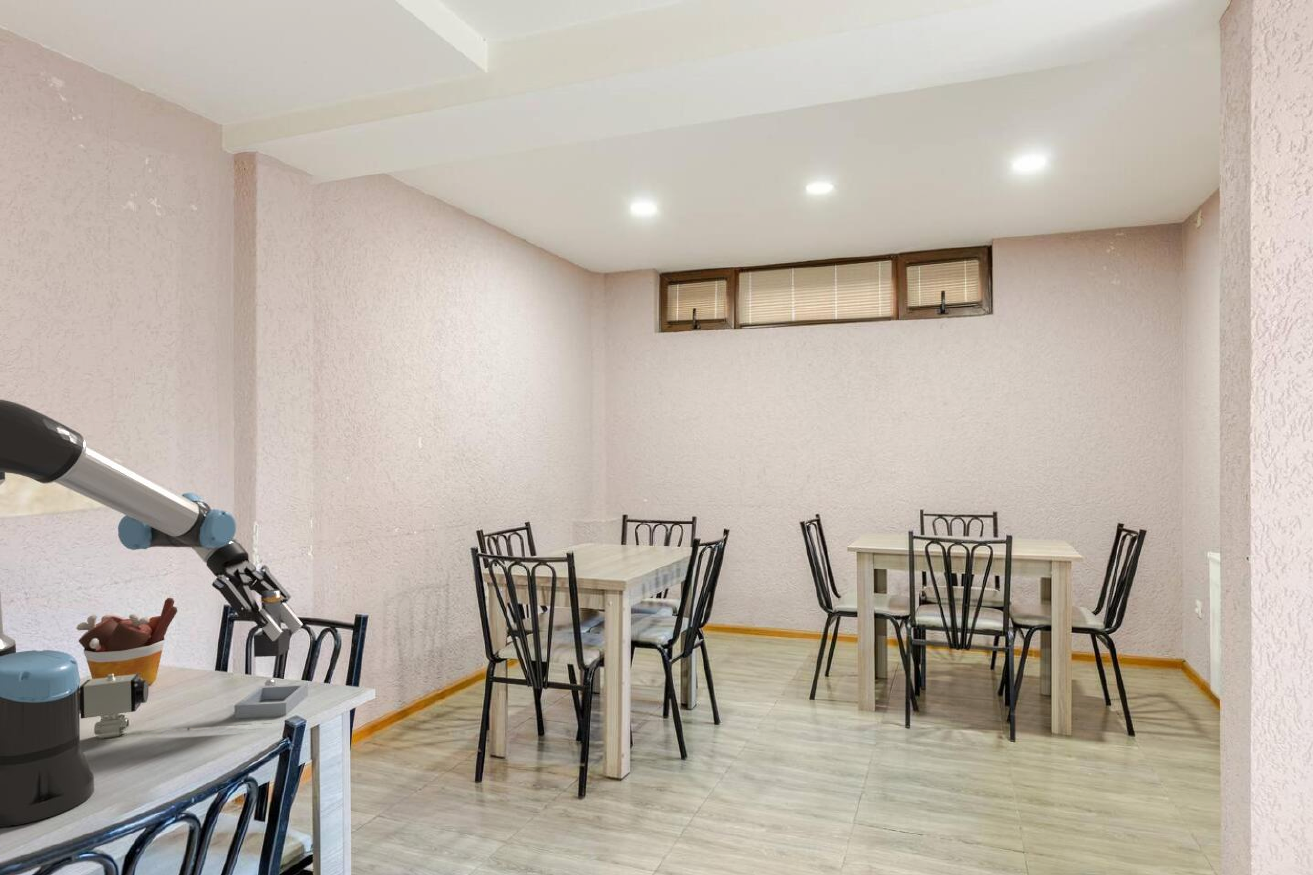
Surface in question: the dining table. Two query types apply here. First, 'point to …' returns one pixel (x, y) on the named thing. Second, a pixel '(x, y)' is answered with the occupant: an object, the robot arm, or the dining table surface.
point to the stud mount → (270, 682)
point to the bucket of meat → (126, 643)
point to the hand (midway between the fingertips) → (288, 632)
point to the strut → (273, 608)
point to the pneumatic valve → (112, 701)
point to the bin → (256, 709)
